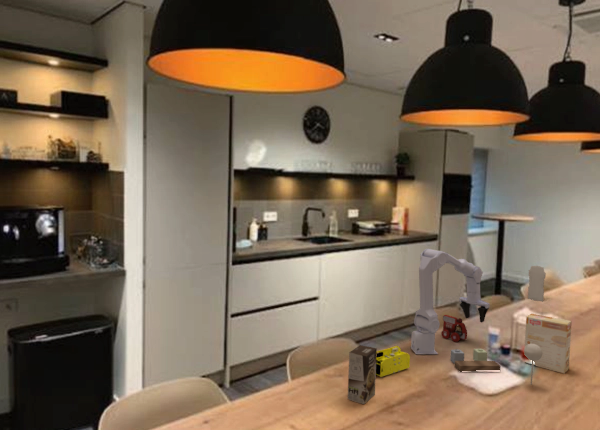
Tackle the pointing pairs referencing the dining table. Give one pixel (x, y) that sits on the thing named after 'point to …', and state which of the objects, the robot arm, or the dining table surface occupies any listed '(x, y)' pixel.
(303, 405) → the dining table surface
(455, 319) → the toy fire truck
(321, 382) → the dining table surface
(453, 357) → the slate block
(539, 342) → the coffeecake box
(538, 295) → the dispenser
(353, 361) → the coffee box
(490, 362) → the walnut base brick
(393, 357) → the yellow toy machine
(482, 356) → the sage block
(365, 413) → the dining table surface
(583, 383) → the dining table surface
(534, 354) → the lollipop
